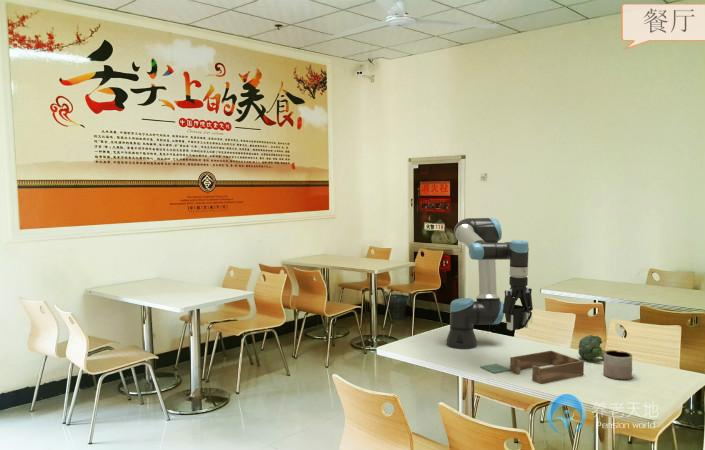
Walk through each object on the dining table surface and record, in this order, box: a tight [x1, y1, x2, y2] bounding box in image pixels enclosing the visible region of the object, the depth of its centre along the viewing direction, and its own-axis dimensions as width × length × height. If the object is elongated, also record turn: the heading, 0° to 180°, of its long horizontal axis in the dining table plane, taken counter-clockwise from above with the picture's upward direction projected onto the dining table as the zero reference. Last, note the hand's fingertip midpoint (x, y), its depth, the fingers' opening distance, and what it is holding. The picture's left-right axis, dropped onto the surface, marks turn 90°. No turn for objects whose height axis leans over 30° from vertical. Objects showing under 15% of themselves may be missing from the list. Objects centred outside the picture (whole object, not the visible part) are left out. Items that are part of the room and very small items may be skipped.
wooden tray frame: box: [509, 350, 585, 385], centre depth 235 cm, size 18×24×6 cm
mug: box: [504, 304, 533, 331], centre depth 238 cm, size 8×12×10 cm
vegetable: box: [578, 334, 607, 362], centre depth 254 cm, size 12×13×15 cm
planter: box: [602, 349, 633, 381], centre depth 231 cm, size 11×11×10 cm
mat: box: [479, 363, 511, 374], centre depth 240 cm, size 9×9×1 cm
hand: (517, 328), depth 238 cm, fingers closed on mug, 8 cm apart
